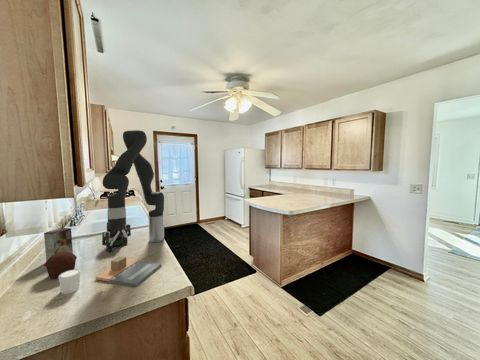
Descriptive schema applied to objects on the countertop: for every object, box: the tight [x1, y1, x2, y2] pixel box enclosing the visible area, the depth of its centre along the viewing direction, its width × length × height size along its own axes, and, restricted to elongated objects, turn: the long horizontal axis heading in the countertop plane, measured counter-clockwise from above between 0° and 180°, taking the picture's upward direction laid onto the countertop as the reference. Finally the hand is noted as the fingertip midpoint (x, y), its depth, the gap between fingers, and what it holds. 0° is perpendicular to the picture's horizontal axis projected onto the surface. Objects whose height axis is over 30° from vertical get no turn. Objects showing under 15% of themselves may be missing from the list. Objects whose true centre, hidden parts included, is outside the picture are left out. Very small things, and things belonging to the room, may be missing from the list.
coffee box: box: [43, 227, 74, 262], centre depth 107 cm, size 9×6×16 cm
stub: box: [95, 255, 140, 283], centre depth 96 cm, size 18×8×6 cm, turn 167°
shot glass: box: [58, 268, 81, 295], centre depth 81 cm, size 7×7×7 cm
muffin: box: [43, 252, 77, 280], centre depth 93 cm, size 12×11×10 cm
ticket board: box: [109, 260, 162, 288], centre depth 94 cm, size 18×13×1 cm
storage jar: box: [106, 222, 124, 249], centre depth 126 cm, size 10×10×15 cm
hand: (117, 249), depth 96 cm, fingers open, 8 cm apart
